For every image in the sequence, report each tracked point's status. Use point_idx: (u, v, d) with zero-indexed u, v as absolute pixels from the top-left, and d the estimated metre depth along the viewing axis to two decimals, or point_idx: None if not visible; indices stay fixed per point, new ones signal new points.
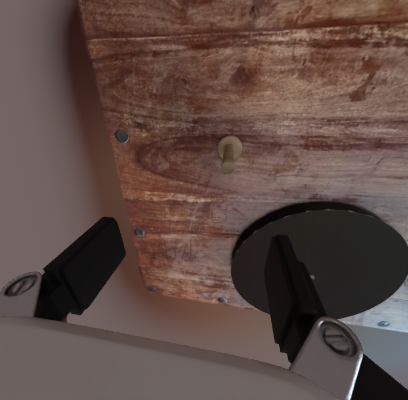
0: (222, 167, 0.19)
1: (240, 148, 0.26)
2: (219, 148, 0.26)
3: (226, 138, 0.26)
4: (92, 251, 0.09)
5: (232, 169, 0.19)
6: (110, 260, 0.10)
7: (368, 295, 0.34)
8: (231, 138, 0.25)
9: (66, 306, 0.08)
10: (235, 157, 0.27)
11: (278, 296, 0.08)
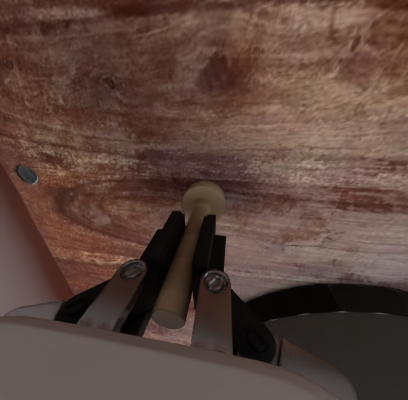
0: (154, 317, 0.07)
1: (221, 206, 0.14)
2: (184, 204, 0.15)
3: (196, 188, 0.14)
4: (174, 242, 0.09)
5: (180, 324, 0.07)
6: None
7: None
8: (204, 190, 0.14)
9: None
10: None
11: None
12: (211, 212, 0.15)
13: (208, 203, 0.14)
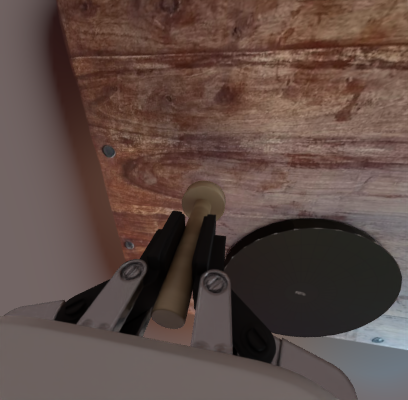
0: (154, 317, 0.07)
1: (221, 206, 0.14)
2: (184, 204, 0.15)
3: (196, 188, 0.14)
4: (174, 242, 0.09)
5: (180, 323, 0.07)
6: None
7: (360, 312, 0.33)
8: (204, 189, 0.14)
9: None
10: None
11: None
12: (211, 212, 0.15)
13: (208, 203, 0.14)
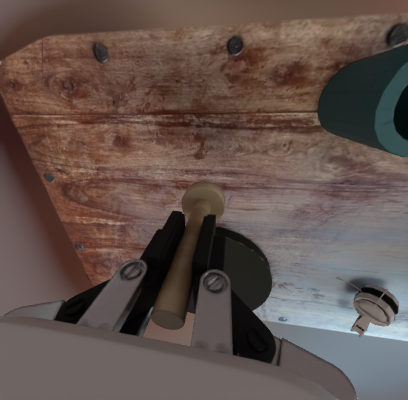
0: (154, 318, 0.07)
1: (221, 206, 0.14)
2: (184, 204, 0.15)
3: (195, 189, 0.14)
4: (174, 242, 0.09)
5: (180, 324, 0.07)
6: None
7: (253, 296, 0.43)
8: (204, 190, 0.14)
9: None
10: None
11: None
12: (211, 213, 0.15)
13: (208, 204, 0.14)
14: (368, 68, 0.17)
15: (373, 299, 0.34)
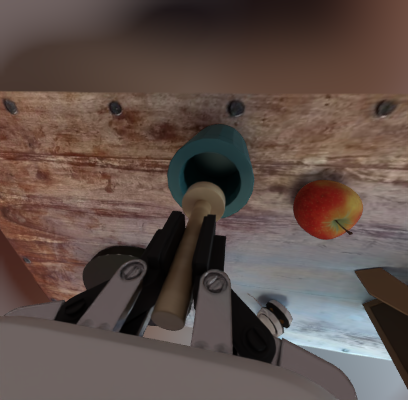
0: (154, 318, 0.07)
1: (221, 207, 0.14)
2: (184, 205, 0.15)
3: (195, 189, 0.14)
4: (174, 242, 0.09)
5: (180, 325, 0.07)
6: None
7: None
8: (204, 190, 0.14)
9: None
10: None
11: None
12: (211, 213, 0.15)
13: (208, 204, 0.14)
14: None
15: (267, 314, 0.39)
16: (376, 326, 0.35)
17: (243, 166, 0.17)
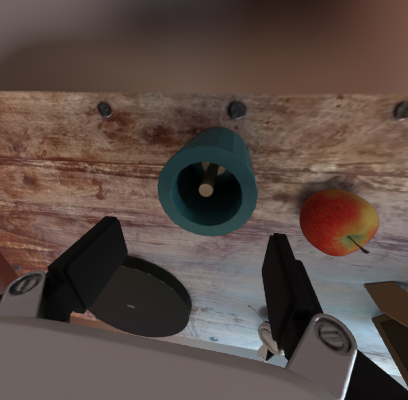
0: (200, 189, 0.17)
1: None
2: (204, 162, 0.25)
3: None
4: (95, 250, 0.09)
5: (211, 192, 0.17)
6: (112, 259, 0.10)
7: (175, 320, 0.45)
8: None
9: (69, 304, 0.08)
10: (221, 172, 0.25)
11: (275, 294, 0.08)
12: (219, 167, 0.25)
13: None
14: None
15: (270, 329, 0.37)
16: (387, 345, 0.33)
17: (245, 178, 0.14)
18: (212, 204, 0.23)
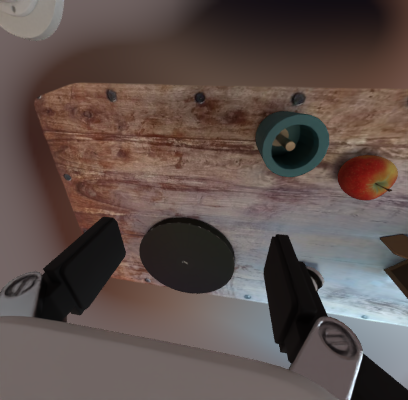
0: (286, 145, 0.27)
1: (287, 136, 0.35)
2: None
3: None
4: (92, 251, 0.09)
5: (293, 147, 0.27)
6: (110, 260, 0.10)
7: (221, 274, 0.55)
8: None
9: (66, 305, 0.08)
10: None
11: (278, 296, 0.08)
12: None
13: (282, 134, 0.34)
14: (267, 124, 0.29)
15: None
16: (397, 283, 0.43)
17: (323, 134, 0.25)
18: (280, 163, 0.33)
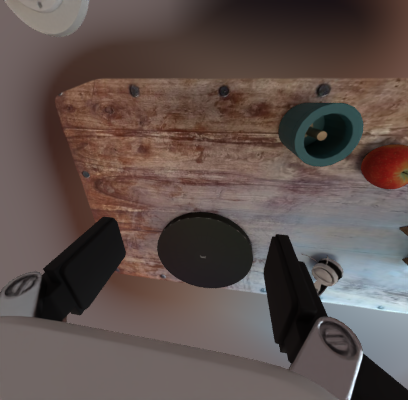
0: (318, 135, 0.28)
1: None
2: None
3: None
4: (92, 251, 0.09)
5: (325, 136, 0.28)
6: (110, 260, 0.10)
7: (239, 268, 0.55)
8: None
9: (66, 306, 0.08)
10: (306, 135, 0.36)
11: (278, 296, 0.08)
12: None
13: None
14: (297, 115, 0.30)
15: (324, 266, 0.47)
16: None
17: (357, 123, 0.25)
18: None
